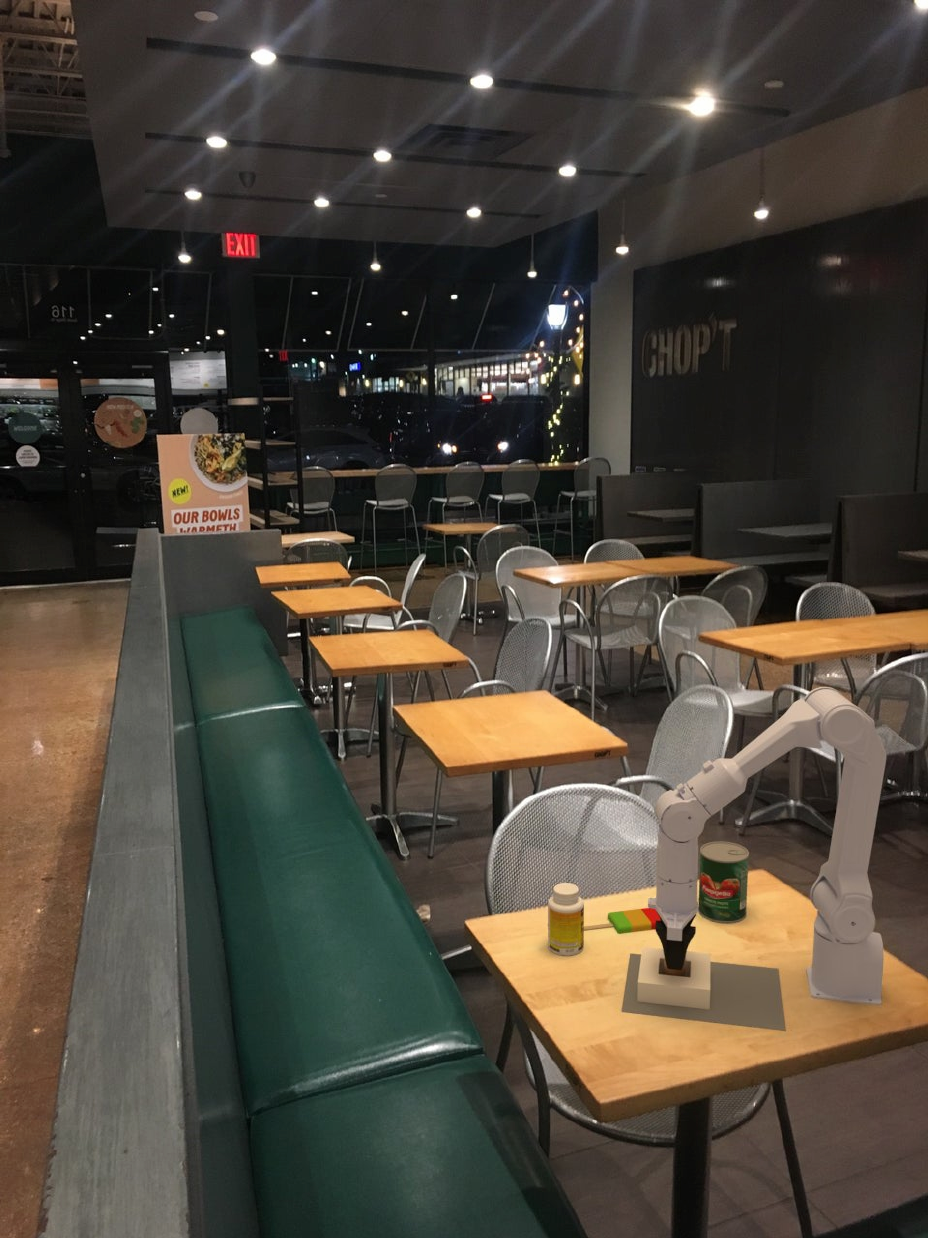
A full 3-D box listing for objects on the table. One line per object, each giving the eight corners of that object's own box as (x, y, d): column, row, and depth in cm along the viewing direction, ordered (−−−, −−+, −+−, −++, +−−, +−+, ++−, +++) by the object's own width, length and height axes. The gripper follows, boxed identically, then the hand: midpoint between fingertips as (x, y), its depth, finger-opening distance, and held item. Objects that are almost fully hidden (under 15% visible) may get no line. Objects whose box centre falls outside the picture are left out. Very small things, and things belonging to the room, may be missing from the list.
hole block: (709, 972, 151) (710, 953, 150) (709, 1009, 141) (710, 990, 141) (641, 965, 153) (642, 946, 153) (637, 1001, 144) (637, 982, 143)
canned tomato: (701, 923, 166) (703, 860, 164) (695, 900, 174) (696, 840, 172) (750, 924, 165) (752, 861, 163) (742, 902, 173) (744, 841, 171)
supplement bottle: (587, 957, 156) (587, 895, 154) (551, 959, 156) (551, 897, 154) (580, 938, 162) (580, 879, 160) (545, 940, 161) (545, 881, 159)
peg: (685, 974, 148) (686, 917, 146) (684, 985, 145) (686, 927, 143) (664, 971, 149) (665, 915, 147) (663, 982, 146) (664, 925, 144)
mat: (778, 970, 151) (778, 968, 151) (785, 1033, 136) (785, 1031, 136) (630, 955, 157) (630, 953, 157) (621, 1013, 141) (621, 1011, 141)
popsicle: (672, 931, 164) (672, 921, 164) (584, 943, 162) (584, 932, 161) (659, 916, 170) (659, 905, 169) (574, 926, 167) (573, 916, 167)
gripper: (651, 851, 152) (650, 934, 154) (645, 895, 138) (643, 985, 141) (699, 855, 150) (697, 939, 153) (698, 900, 136) (695, 991, 139)
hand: (675, 962), depth 147 cm, fingers closed on peg, 3 cm apart
